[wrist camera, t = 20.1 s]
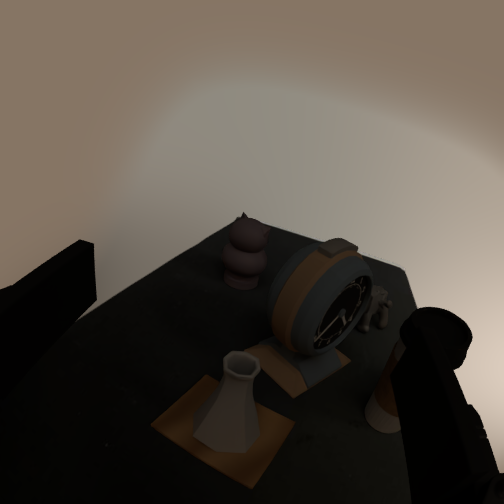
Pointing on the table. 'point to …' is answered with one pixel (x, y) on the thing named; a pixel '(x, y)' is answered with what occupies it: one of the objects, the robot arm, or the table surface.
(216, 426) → the flask
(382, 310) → the gray elephant figurine
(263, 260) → the cat figurine
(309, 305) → the alarm clock
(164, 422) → the wooden board
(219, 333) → the table surface
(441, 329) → the coffee cup
